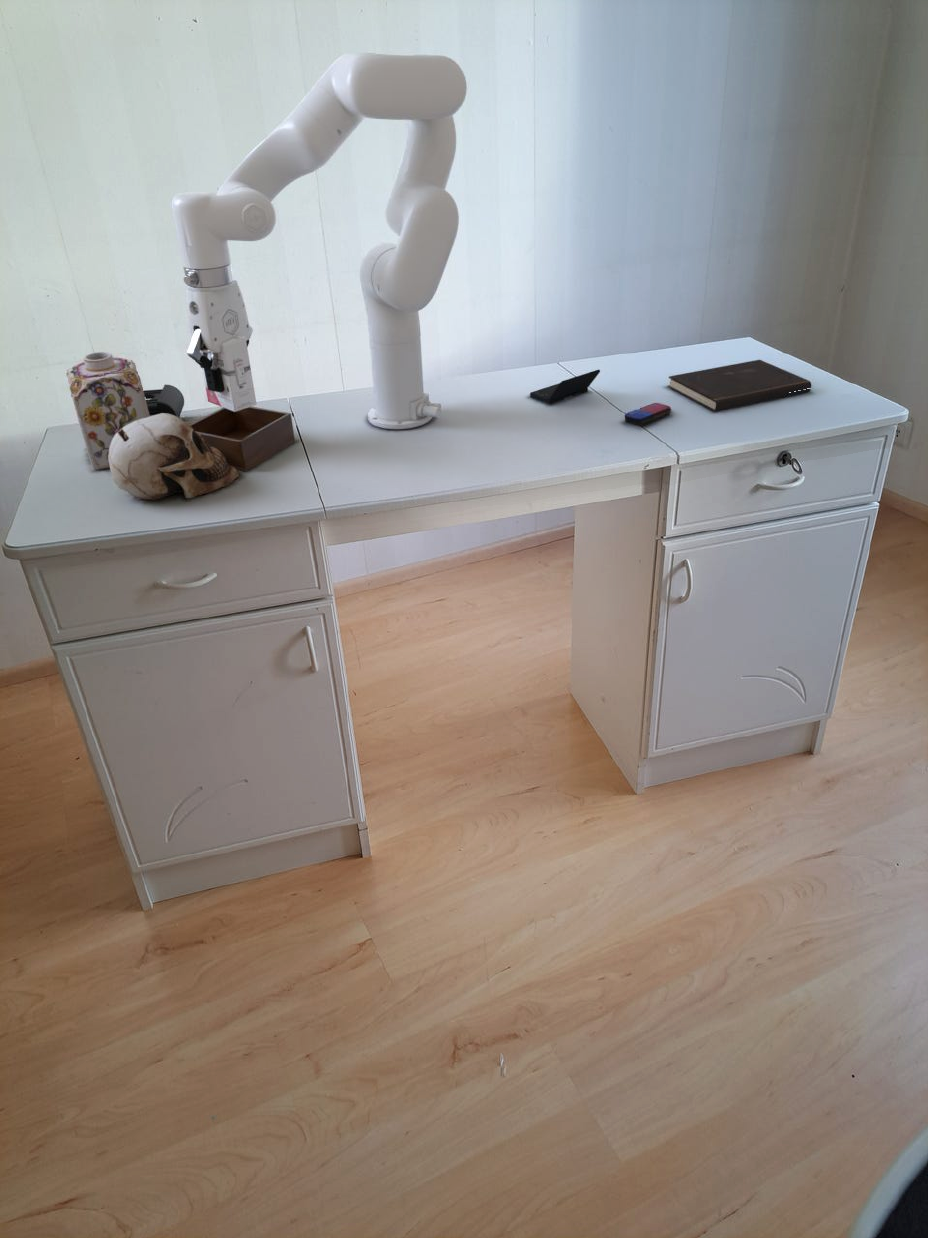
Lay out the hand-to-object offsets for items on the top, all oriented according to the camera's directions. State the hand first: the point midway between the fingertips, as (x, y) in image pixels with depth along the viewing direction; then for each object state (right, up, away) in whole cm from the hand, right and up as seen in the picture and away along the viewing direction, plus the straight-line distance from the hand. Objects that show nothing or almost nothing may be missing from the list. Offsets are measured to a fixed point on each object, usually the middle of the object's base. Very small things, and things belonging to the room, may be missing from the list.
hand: (228, 383), depth 151 cm
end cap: (-17, -4, +18) cm, 25 cm away
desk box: (0, -10, +7) cm, 12 cm away
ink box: (0, -3, +2) cm, 4 cm away
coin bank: (-7, -19, -5) cm, 21 cm away
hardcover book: (+97, +5, +25) cm, 100 cm away
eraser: (+76, -3, +14) cm, 77 cm away
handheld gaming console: (+61, +4, +25) cm, 66 cm away
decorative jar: (-21, -11, +7) cm, 25 cm away
